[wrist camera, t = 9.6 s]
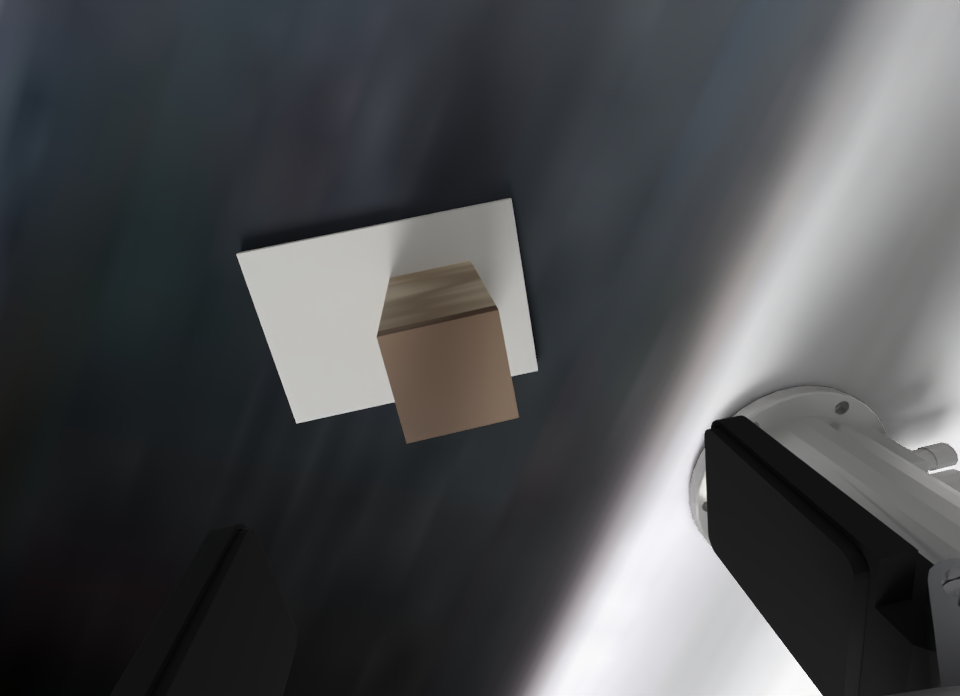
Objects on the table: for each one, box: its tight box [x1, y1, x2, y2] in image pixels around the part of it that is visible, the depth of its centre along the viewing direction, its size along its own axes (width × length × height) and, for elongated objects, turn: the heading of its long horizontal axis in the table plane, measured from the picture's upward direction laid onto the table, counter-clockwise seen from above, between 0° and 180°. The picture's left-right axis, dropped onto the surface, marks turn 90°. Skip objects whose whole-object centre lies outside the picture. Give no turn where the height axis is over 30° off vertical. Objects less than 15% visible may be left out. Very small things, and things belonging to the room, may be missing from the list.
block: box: [377, 261, 519, 443], centre depth 21 cm, size 4×4×9 cm
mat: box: [236, 198, 538, 424], centre depth 26 cm, size 13×9×1 cm
